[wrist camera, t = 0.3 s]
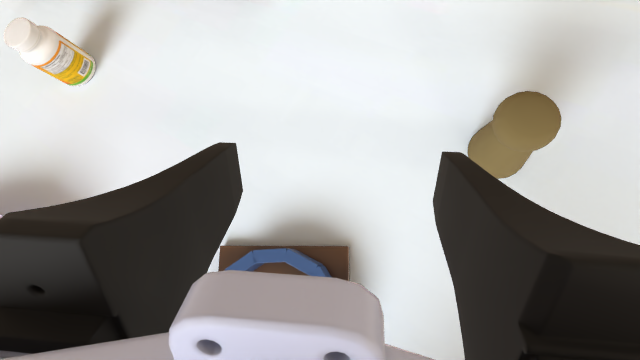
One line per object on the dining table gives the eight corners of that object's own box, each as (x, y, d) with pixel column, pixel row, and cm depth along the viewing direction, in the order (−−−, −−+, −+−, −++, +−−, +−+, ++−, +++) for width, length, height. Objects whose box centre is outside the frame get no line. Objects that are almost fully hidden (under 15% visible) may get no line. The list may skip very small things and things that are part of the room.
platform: (349, 394, 38) (344, 411, 34) (214, 383, 41) (194, 398, 37) (349, 246, 42) (344, 245, 37) (223, 246, 45) (205, 244, 40)
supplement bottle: (61, 65, 55) (-6, 25, 46) (91, 47, 55) (30, 4, 46) (69, 93, 54) (2, 59, 45) (100, 76, 53) (39, 37, 44)
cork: (505, 189, 40) (545, 164, 29) (456, 157, 41) (478, 122, 31) (537, 145, 40) (590, 104, 29) (488, 116, 42) (520, 67, 31)
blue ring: (349, 388, 38) (345, 399, 35) (218, 387, 40) (204, 397, 37) (340, 245, 41) (336, 244, 38) (219, 253, 43) (206, 252, 40)
